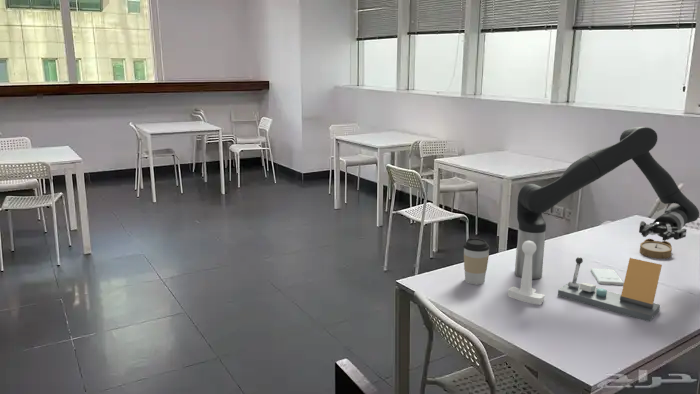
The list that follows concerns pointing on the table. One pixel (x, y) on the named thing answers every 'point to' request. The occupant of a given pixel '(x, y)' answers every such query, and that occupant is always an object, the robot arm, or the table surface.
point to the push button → (601, 292)
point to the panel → (609, 302)
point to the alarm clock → (656, 249)
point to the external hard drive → (607, 276)
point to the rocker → (587, 287)
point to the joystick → (527, 279)
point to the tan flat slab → (641, 283)
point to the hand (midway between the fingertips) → (654, 235)
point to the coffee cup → (475, 260)
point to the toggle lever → (576, 274)
